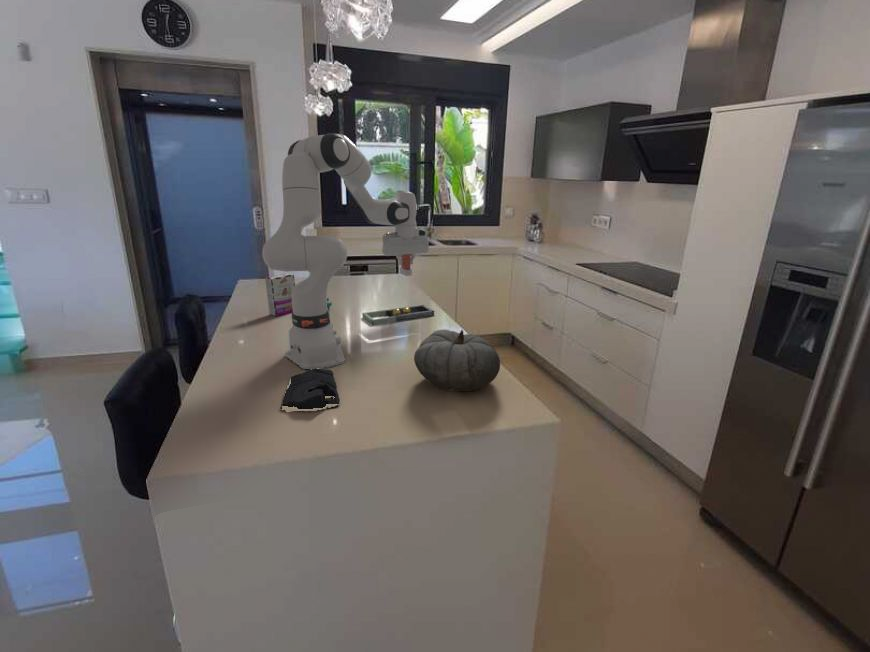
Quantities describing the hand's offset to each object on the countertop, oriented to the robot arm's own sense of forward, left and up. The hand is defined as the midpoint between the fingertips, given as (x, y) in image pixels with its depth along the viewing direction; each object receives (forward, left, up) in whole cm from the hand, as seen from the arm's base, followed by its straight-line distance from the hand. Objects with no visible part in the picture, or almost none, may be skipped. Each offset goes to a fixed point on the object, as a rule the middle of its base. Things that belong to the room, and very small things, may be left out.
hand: (405, 264), depth 192 cm
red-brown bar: (0, 0, -4) cm, 4 cm away
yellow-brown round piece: (-7, +3, -20) cm, 22 cm away
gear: (+18, +33, -21) cm, 43 cm away
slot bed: (-7, +2, -21) cm, 22 cm away
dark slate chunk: (-56, +56, -22) cm, 82 cm away
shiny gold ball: (-7, +8, -20) cm, 23 cm away
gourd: (-69, +17, -21) cm, 74 cm away
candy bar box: (+22, +48, -21) cm, 57 cm away
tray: (-7, +15, -21) cm, 27 cm away
